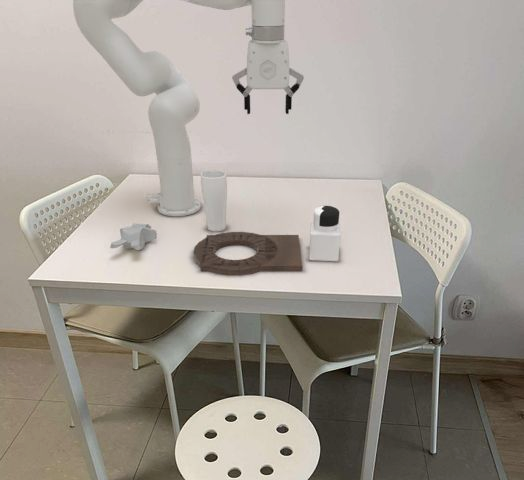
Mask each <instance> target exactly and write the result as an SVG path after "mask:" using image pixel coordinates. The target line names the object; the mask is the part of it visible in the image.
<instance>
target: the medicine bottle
mask: <svg viewBox="0 0 524 480" xmlns="http://www.w3.org/2000/svg"><path fill="white" fill-rule="evenodd" d="M341 235H342V234H341V223H340V210H339V209H338V208H337V207H335V206H332V205H320V206H318V207H316V208H315V209H314V210H313V221H312V222H310V233H309V251H308V252H309V253H308V260H309V261H315V262H317V261H318V262H319V261H320V262H338V261H339V259H340V258H339V257H340V245H341Z"/></svg>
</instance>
